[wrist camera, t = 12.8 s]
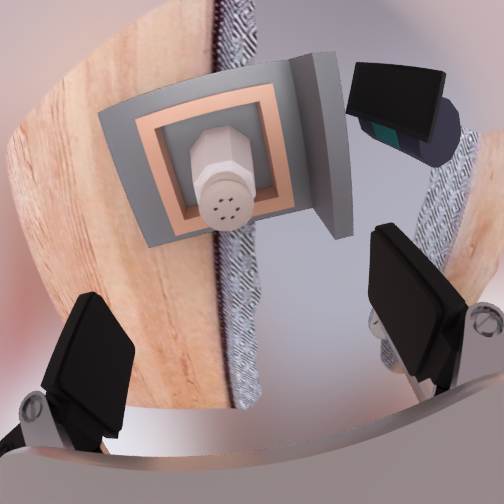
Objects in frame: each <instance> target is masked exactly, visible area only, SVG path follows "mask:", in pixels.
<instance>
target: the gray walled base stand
mask: <svg viewBox="0 0 504 504" xmlns="http://www.w3.org/2000/svg"><path fill="white" fill-rule="evenodd" d="M98 116H99V120H100V123H101V126H102V129H103V132H104V135H105V138H106V141H107V144H108V147H109V150H110V153H111V155H112V158H113V161H114V164H115V167H116V169H117V172H118V175H119V177H120V180H121V183H122V185H123V188H124V190H125V193H126V195H127V198H128V200H129V203H130V205H131V208H132V210H133V213H134V215H135V217H136V220H137V222H138V224H139V227H140V229H141V231H142V234H143V236H144V238H145V241H146V243H147V245H148V247H149V248H151V247H155V246H158V245H162V244H166V243H170V242H174V241H177V240H181V239H185V238H189V237H193V236H197V235H201V234H205V233H209V232H213V231H217V230H215V229H213V228H211V227H209V226H208V225H207V224H206V223H205V222H204V221H203V219H202V218H201V216H200V213H199V206H198V203H197V199H196V194H195V190H194V185H193V180H192V169H191V157H190V150H191V148H192V147H193V145H194V144H195V142H196V141H197V139H198V138H199V137H200V135H201V134H202V132H203V131H204V130H207V129H212V128H217V127H223V126H228V125H229V126H231V127H232V128H234V129H235V130H237V131H238V132H240V133H241V134H243V135H244V136H246V137H247V138H249V139H250V145H251V152H252V159H253V167H254V178H255V188H256V196H255V198H254V212H253V214H252V217H251V218H250V220H249V221H248V222H247V223H249V222H253V221H257V220H262V219H266V218H270V217H274V216H279V215H283V214H287V213H291V212H296V211H301V210H305V209H309V208H313V209H314V210H315V211H316V213H317V214H318V216H319V217H320V218H321V220H322V221H323V223H324V224H325V226H326V227H327V229H328V230H329V232H330V233H331V234H332V236H333V237H334V239H335V240H337V239H341V238H345V237H349V236H353V204H352V203H353V201H352V182H351V167H350V156H349V144H348V135H347V125H346V117H345V109H344V101H343V94H342V88H341V81H340V75H339V69H338V63H337V58H336V53H335V52H320V53H310V54H306V55H303V56H299V57H296V58H292V59H289V60H281V61H274V62H267V63H261V64H255V65H250V66H244V67H239V68H234V69H229V70H225V71H220V72H216V73H212V74H208V75H204V76H200V77H196V78H193V79H189V80H186V81H182V82H179V83H176V84H172V85H169V86H166V87H163V88H160V89H157V90H154V91H151V92H148V93H145V94H143V95H140V96H137V97H135V98H132V99H129V100H127V101H124V102H122V103H119V104H117V105H115V106H112V107H110V108H107V109H105V110H103V111H101V112H98Z"/></svg>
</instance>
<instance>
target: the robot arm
mask: <svg viewBox="0 0 504 504" xmlns="http://www.w3.org/2000/svg"><path fill="white" fill-rule="evenodd" d="M368 297H369V300H370V303H371V305H372V306H373V309H372V311H371V313H370V316H369V321H368V322H369V328H370V330H371V332H372V333H373V335H374V336H376V337H377V338H380V339H385V340H388V342H389V344H390V346H391V348H392V349H393V351H394V353H395V355H396V357H397V359H398V361H399V363H400V365H401V367H402V369H403V371H404V373H405V374H406V377H407V379H408V381H409V383H410V385H411V387H412V389H413V391H414V393H415V395H416V397H417V399H418V401H419V404H417V405H414V406H412V407H410V408H407V409H405V410H402V411H400V412H397V413H395V414H392V415H389V416H386V417H384V418H381V419H378V420H375V421H373V422H370V423H367V424H364V425H361V426H358V427H355V428H352V429H349V430H345V431H341V432H338V433H335V434H331V435H327V436H323V437H320V438H316V439H312V440H307V441H303V442H298V443H294V444H289V445H284V446H279V447H273V448H267V449H261V450H254V451H248V452H240V453H231V454H221V455H208V456H189V457H140V456H122V455H111V454H110V453H109V452H108V450H107V448H106V446H105V445H104V443H103V441H102V437H103V436H104V437H105V438H114V439H115V438H116V439H118V434H119V431H120V430H121V429H122V425H123V418H124V411H125V405H126V399H127V393H128V387H129V382H130V376H131V371H132V366H133V361H134V356H135V347H134V344H133V342H132V341H131V340H130V338H129V337H128V335H127V334H126V333H125V331H124V330H123V328H122V327H121V325H120V324H119V322H118V321H117V320H116V318H115V317H114V315H113V314H112V312H111V310H110V309H109V307H108V306H107V304H106V303H105V301H104V300H103V298H102V297H101V296H100V295H98V294H97V293H95V292H89V293H84V294H81V295H79V297H78V298H77V300H76V302H75V305H74V307H73V309H72V311H71V313H70V315H69V317H68V319H67V321H66V324H65V326H64V328H63V330H62V333H61V335H60V337H59V340H58V342H57V345H56V347H55V349H54V352H53V354H52V357H51V359H50V362H49V364H48V367H47V369H46V372H45V375H44V378H43V381H42V383H41V387H42V388H43V389H45V390H46V391H47V392H46V395H44V394H43V393H42V392H40V391H33V392H31V393H29V394H28V395H27V396H26V397H25V398H24V400H23V401H22V403H21V405H20V408H19V420H20V423H19V424H18V425H17V426H16V427H15V428H14V429H13V430H12V431H11V432H10V433H9V434H7V435H6V436H5V437H4V438H3V439H2V440H1V441H0V504H504V313H503V312H502V311H501V310H500V309H499V308H498V307H496V306H495V305H493V304H490V303H486V302H479V303H475V304H473V305H472V306H470V307H468V306H467V304H466V303H465V300H464V299H463V298H462V297H461V295H460V294H459V293H458V292H457V291H456V289H455V288H454V287H453V286H452V285H451V283H450V282H449V281H448V280H447V279H446V278H445V277H444V275H443V274H442V273H441V272H440V271H439V270H438V269H437V268H436V267H435V265H434V264H433V263H432V262H431V261H430V260H429V259H428V258H427V257H426V256H425V255H424V254H423V252H422V251H421V250H420V249H419V248H418V247H417V246H416V245H415V244H414V243H413V242H412V241H411V240H410V239H409V238H408V237H407V236H406V235H405V234H404V233H403V232H402V231H401V230H400V229H399V228H398V227H397V226H396V225H395V224H394V223H387V224H382V225H378V226H376V227H375V231H373V232H371V240H370V268H369V285H368Z"/></svg>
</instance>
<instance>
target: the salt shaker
mask: <svg viewBox="0 0 504 504" xmlns="http://www.w3.org/2000/svg"><path fill="white" fill-rule="evenodd" d="M190 157H191V169H192V180H193V185H194V190H195V194H196V199H197V203H198V206H199V213H200V216H201V218H202V219H203V221H204V222H205V223H206V224H207V225H208V226H209V227H211V228H213V229H215V230H219V231H233V230H236V229H239V228H241V227H242V226H244V225H245V224H246V223H247V222H248V221H249V220H250V218H251V217H252V214H253V212H254V198H255V196H256V188H255V178H254V167H253V159H252V152H251V145H250V139H249V138H247V137H246V136H244V135H243V134H241V133H240V132H238V131H237V130H235V129H234V128H232V127H231V126H229V125H228V126H223V127H217V128H212V129H207V130H204V131H203V132H202V134H201V135H200V137H199V138H198V139H197V141H196V142H195V144H194V145H193V147H192V148H191V150H190Z"/></svg>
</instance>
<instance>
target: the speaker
mask: <svg viewBox="0 0 504 504" xmlns="http://www.w3.org/2000/svg"><path fill="white" fill-rule="evenodd" d="M445 78H446V73H445V72H443V71H438V70H433V69H427V68H419V67H412V66H404V65H394V64H382V63H365V62H356V65H355V70H354V75H353V80H352V85H351V90H350V94H349V100H348V104H347V108H346V113H345V114H349V115H352V116H355V117H358V119H359V123H360V125H361V129H362V130H363V131H364V132H366V133H367V134H368V135H369V136H371V137H372V138H374V139H376V140H378V141H380V142H382V143H384V144H387V145H389V146H391V147H393V148H395V149H398V150H399V151H401V152H404V153H406V154H408V155H410V156H412V157H414V158H416V159H418V160H419V161H421V162H423V163H425V164H427V165H429V166H431V167H437V168H439V167H440V166H442V165H443V164H445V163H446V162H448V161H449V160H451V158H452V156H453V154H454V152H455V150H456V148H457V146H458V144H459V142H460V136H461V127H460V119H459V113H458V111H457V110H456V108H455V107H454V106H453V104H452V103H451V101H450V100H449V99H446V98H443V97H442V94H443V88H444V84H445Z"/></svg>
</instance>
